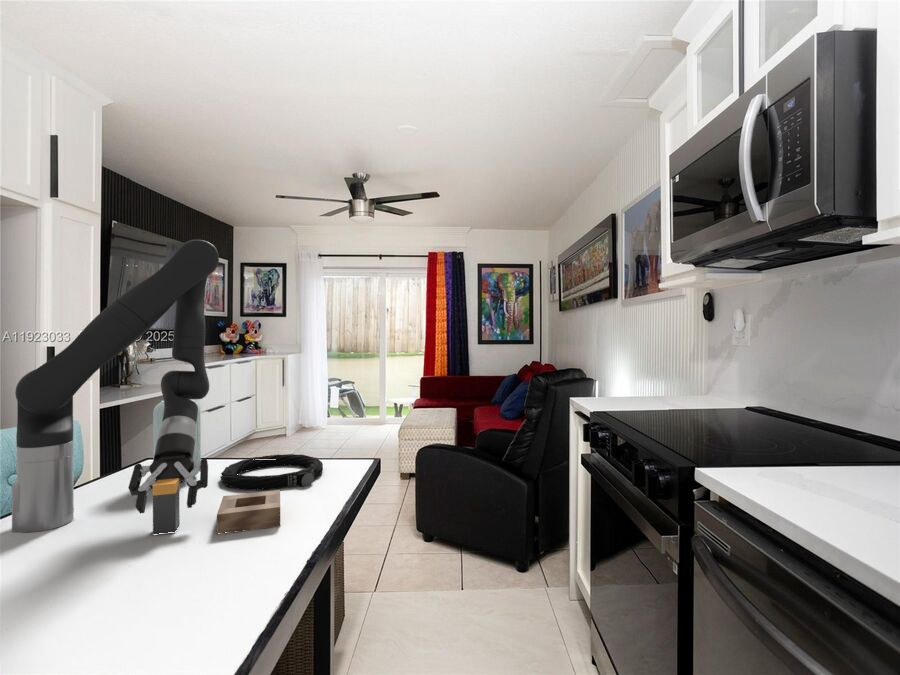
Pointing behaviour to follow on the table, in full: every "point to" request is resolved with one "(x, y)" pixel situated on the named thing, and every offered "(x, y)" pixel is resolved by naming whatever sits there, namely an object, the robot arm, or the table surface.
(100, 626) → the table surface
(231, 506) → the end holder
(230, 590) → the table surface
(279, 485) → the cable lock
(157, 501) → the connector plug
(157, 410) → the vase
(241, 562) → the table surface
